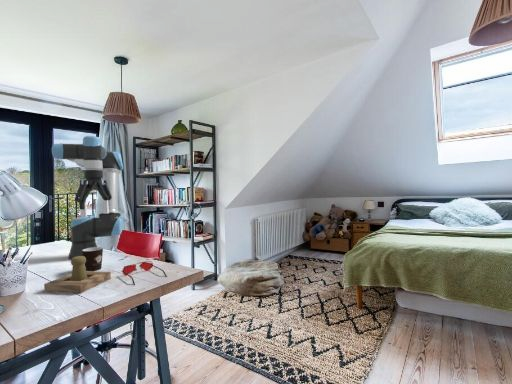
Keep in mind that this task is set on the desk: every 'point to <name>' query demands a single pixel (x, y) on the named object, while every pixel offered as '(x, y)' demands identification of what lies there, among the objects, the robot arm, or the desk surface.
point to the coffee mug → (93, 258)
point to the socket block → (77, 283)
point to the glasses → (131, 268)
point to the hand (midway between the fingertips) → (95, 215)
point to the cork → (78, 268)
